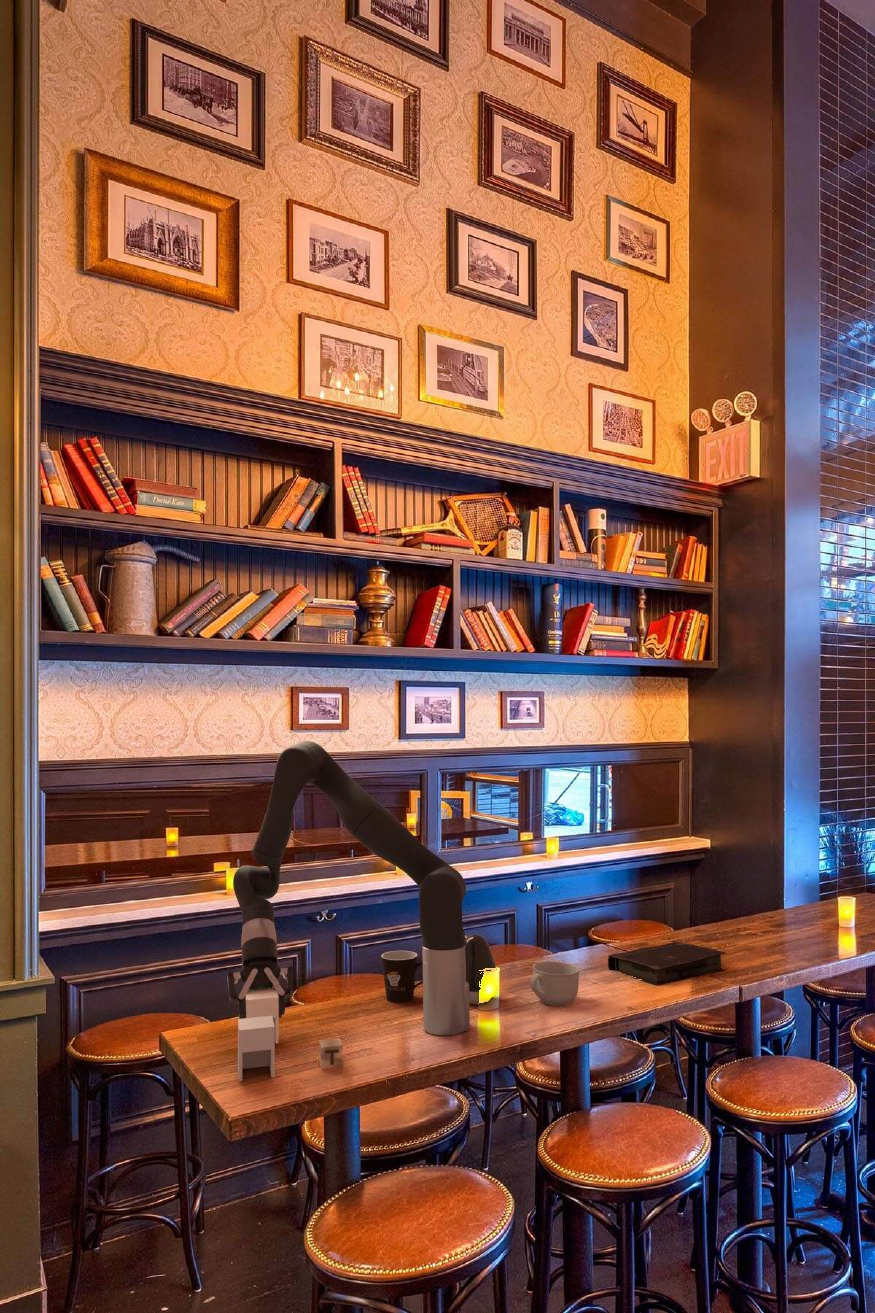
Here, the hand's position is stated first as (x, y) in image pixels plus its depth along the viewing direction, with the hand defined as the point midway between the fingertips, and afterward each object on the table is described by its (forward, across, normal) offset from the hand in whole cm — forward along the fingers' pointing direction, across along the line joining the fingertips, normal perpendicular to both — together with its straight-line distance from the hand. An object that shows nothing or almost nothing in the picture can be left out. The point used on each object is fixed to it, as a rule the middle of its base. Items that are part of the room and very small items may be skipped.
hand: (262, 1017), depth 174 cm
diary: (-11, +105, +20) cm, 107 cm away
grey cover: (+14, -2, -6) cm, 15 cm away
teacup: (-1, +66, +9) cm, 67 cm away
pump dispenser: (-6, +50, +14) cm, 52 cm away
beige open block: (+2, 0, +4) cm, 5 cm away
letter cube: (+14, +12, -6) cm, 20 cm away
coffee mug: (-10, +34, +18) cm, 40 cm away
